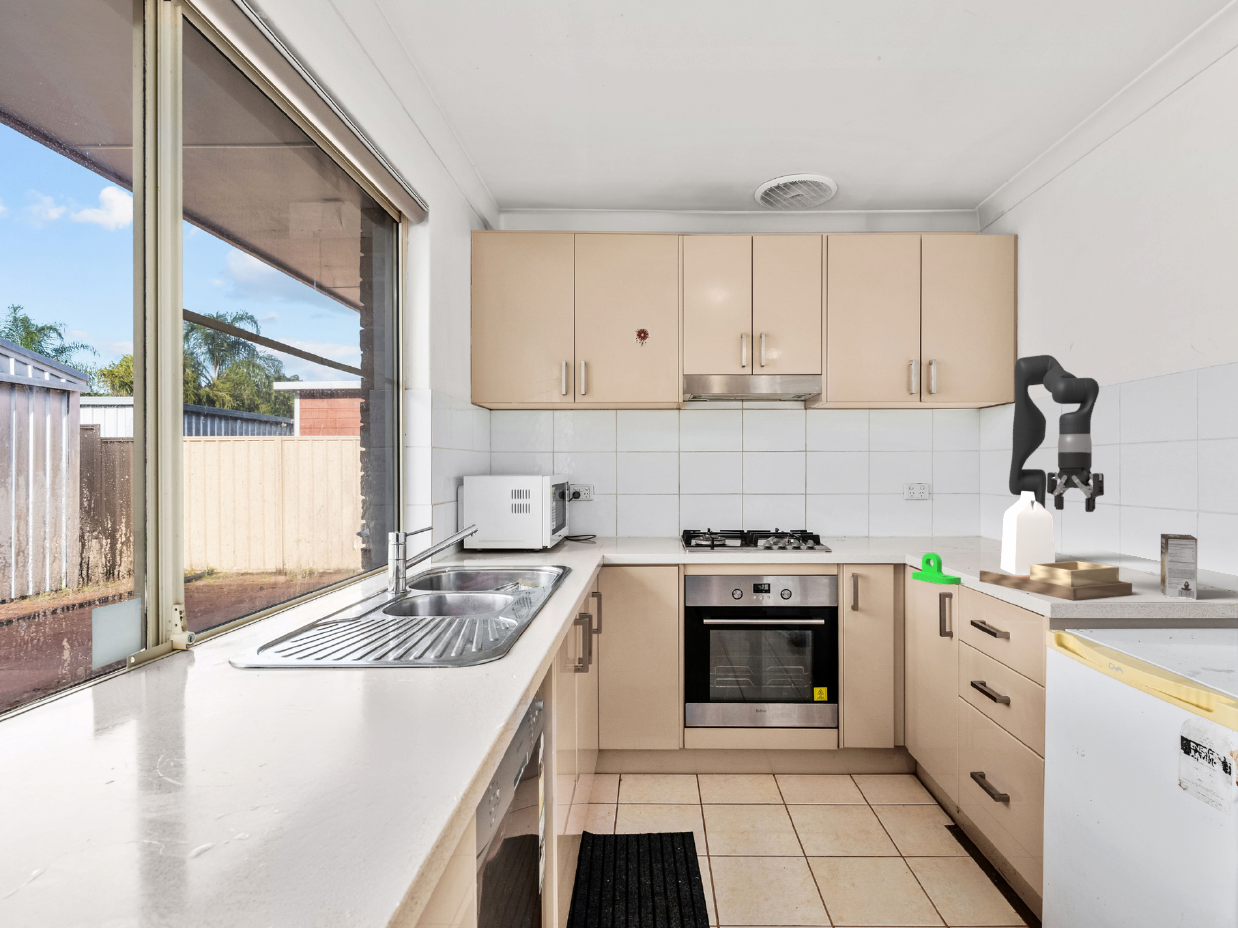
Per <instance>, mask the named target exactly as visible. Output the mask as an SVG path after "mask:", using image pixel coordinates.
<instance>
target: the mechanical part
mask: <svg viewBox="0 0 1238 928" xmlns="http://www.w3.org/2000/svg"><path fill="white" fill-rule="evenodd" d="M931 561H932V564H931ZM911 573H912V574H911V575H912V576H911V579H912V580H916V581H921V582H926V583H929V584H935V585H941V586H942V585H961V584H962V577H960V576H955V575H949V574H946V573H944V572H943V561H942V558H941V557H940V555H939V554H938V553H936V552H928V553H927V552H926V553H925V554H924V555H922V558H921V570H920V571H914V572H911Z"/></svg>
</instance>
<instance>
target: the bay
mask: <svg viewBox="0 0 1238 928" xmlns="http://www.w3.org/2000/svg"><path fill="white" fill-rule="evenodd" d="M979 582H981V583H982V582H983V583H987V584H992V585H997V586H1002V587H1006V588H1011V589H1016V590H1021V591H1024V592H1025V591H1026V592H1030V593H1036V594H1040V595H1045V596H1050V597H1055V598H1060V599H1063V600H1064V599H1065V600H1069V601H1081V600H1090V599H1101V598H1104V599H1105V598H1113V597H1114V598H1115V597H1123V596H1133V583H1132V582H1128V581H1127V582H1126V581H1122V580H1119V583H1114V584H1103V585H1091V586H1080V587H1068V586H1063V585H1057V584H1052V583H1047V582H1041V581H1036V580H1031V579H1030V575H1007V574H1004V573H998V572H993V571H992V572H991V571H987V570H979Z"/></svg>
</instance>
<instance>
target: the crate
mask: <svg viewBox="0 0 1238 928" xmlns="http://www.w3.org/2000/svg"><path fill="white" fill-rule="evenodd" d="M1030 579H1031V580H1036V581H1041V582H1047V583H1052V584H1057V585H1063V586H1068V587H1080V586H1091V585H1103V584H1114V583H1119V581H1120V567H1116V566H1111V565H1105V564H1098V563H1091V562H1085V561H1079V560H1073V561H1058V562H1055V563H1043V564H1030Z"/></svg>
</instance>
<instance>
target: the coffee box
mask: <svg viewBox="0 0 1238 928" xmlns="http://www.w3.org/2000/svg"><path fill="white" fill-rule="evenodd" d="M1197 576H1198V538H1196V536H1193V535H1191V534H1181V533H1180V534H1176V533H1174V534H1173V533H1160V592H1161V591H1162V592H1161V593H1162V594H1163V593H1164V594H1163V596H1165V595H1166V596H1169V597H1186V598H1192V599H1197V597H1198V595H1197V594H1198V593H1197V592H1198V590H1197V588H1198V587H1197V586H1198V584H1197V583H1198V577H1197ZM1166 596H1165V597H1166ZM1192 599H1191V600H1192Z"/></svg>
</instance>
